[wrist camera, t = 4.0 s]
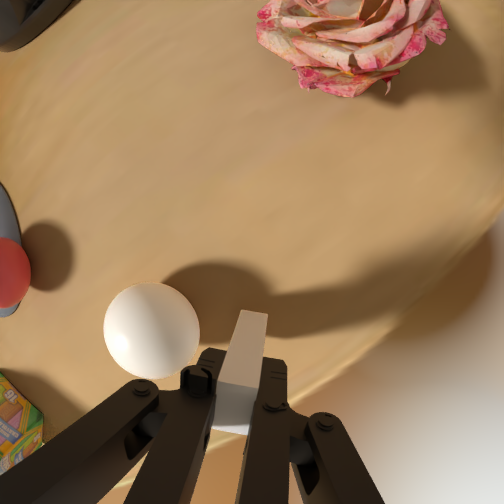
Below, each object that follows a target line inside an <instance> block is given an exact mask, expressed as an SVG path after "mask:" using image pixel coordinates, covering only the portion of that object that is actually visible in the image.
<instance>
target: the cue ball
mask: <svg viewBox="0 0 504 504" xmlns="http://www.w3.org/2000/svg"><path fill="white" fill-rule="evenodd" d="M104 338H105V342H106V345H107V347H108V350H109V352H110V354H111V355H112V357H113V358H114V360H115V361H116V362H117V363H118V364H119V365H120V366H121V367H122V368H123V369H125V370H126V371H128V372H129V373H131V374H133V375H136V376H138V377H142V378H146V379H162V378H166V377H169V376H172V375H174V374H176V373H178V372H179V371H181V370H182V369H183V368H184V367H186V366H187V365H188V363H189V362H190V361H191V360H192V358H193V356H194V355H195V352H196V350H197V347H198V344H199V338H200V328H199V322H198V318H197V315H196V312H195V311H194V309H193V307H192V305H191V304H190V302H189V301H188V300H187V299H186V298H185V297H184V296H183V295H182V294H181V293H180V292H179V291H177V290H175V289H174V288H172V287H170V286H168V285H165V284H162V283H157V282H142V283H138V284H134V285H132V286H129V287H127V288H126V289H124V290H123V291H121V292H120V293H119V294H118V295H117V296H116V297H115V298H114V300H113V301H112V302H111V304H110V305H109V307H108V310H107V312H106V315H105V320H104Z"/></svg>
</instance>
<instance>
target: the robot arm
mask: <svg viewBox="0 0 504 504" xmlns="http://www.w3.org/2000/svg"><path fill="white" fill-rule="evenodd" d="M71 2H72V0H0V51H2V52H11V51H14V50H16V49H18V48H20V47H22V46H23V45H25V44H26V43H28V42H29V41H31V40H32V39H33V38H34V37H36V36H37V35H38V34H39V33H40V32H42V31H43V30H44V29H45V28H46V27H47V26H48V25H49V24H50V23H51V22H52V21H53V20H54V19H55V18H56V17H57V16H58V15H59V14H60V13H61V12H62V11H63V10H64V9H65V8H66V7H67V6H68V5H69V4H70V3H71ZM267 319H268V314H265V313H259V312H254V311H248V310H242V309H241V312H240V315H239V318H238V321H237V324H236V327H235V330H234V333H233V336H232V338H231V341H230V344H229V347H228V350H227V351H224V350H219V349H215V348H210V347H209V348H207V349H206V350H204V351H203V352H202V353H201V355H200V357H199V360H198V362H197V364H196V365H191V366H187V367H185V368H183V369H182V370H181V376H180V389H178V390H171V391H166V390H159V389H158V387H157V385H156V384H155V383H153V382H152V381H149V380H146V379H135V380H132V381H130V382H128V383H127V384H125V385H124V386H123V387H121V388H120V389H119V390H117V391H116V392H115V393H113V394H112V395H111V396H110V397H108V398H107V399H106V400H104V401H103V402H102V403H100V404H99V405H98V406H96V407H95V408H94V409H92V410H91V411H90V412H88V413H87V414H86V415H84V416H83V417H81V418H80V419H79V420H77V421H76V422H75V423H73V424H72V425H71V426H69V427H68V428H67V429H65V430H64V431H62V432H61V433H60V434H58V435H57V436H56V437H54V438H53V439H51V440H50V441H49V442H47V443H46V444H44V445H43V446H42V447H40V448H39V449H37V450H36V451H35V452H33V453H32V454H30V455H29V456H27V457H26V458H25V459H23V460H22V461H20V462H19V463H17V464H16V465H15V466H13V467H12V468H10V469H9V470H7V471H6V472H4V473H3V474H1V475H0V504H97V503H98V502H99V500H101V499H102V498H103V497H104V496H105V495H106V494H107V493H108V492H109V491H110V490H111V489H112V488H113V487H114V486H115V485H116V484H117V483H118V482H119V481H120V480H121V479H122V478H123V477H124V476H125V475H126V474H127V473H128V472H129V471H130V470H131V469H132V468H133V467H134V466H135V465H136V464H137V463H138V462H139V461H140V459H141V458H142V457H143V456H144V455H145V454H146V453H147V452H148V451H149V452H148V454H147V456H146V458H145V460H144V462H143V464H142V466H141V468H140V470H139V472H138V474H137V476H136V478H135V480H134V482H133V485H132V487H131V489H130V491H129V493H128V495H127V497H126V499H125V501H124V503H123V504H190V501H191V498H192V495H193V492H194V488H195V485H196V482H197V478H198V475H199V472H200V468H201V465H202V462H203V459H204V455H205V452H206V449H207V445H208V442H209V439H210V430H211V427H212V429H217V430H222V431H227V432H232V433H237V434H243V435H247V440H246V444H245V448H244V453H243V455H244V456H243V461H242V467H241V473H240V479H239V484H238V489H237V494H236V501H235V504H288V495H289V462H291V465H292V468H293V471H294V475H295V478H296V481H297V484H298V488H299V491H300V494H301V497H302V500H303V503H304V504H385V503H384V501H383V499H382V497H381V495H380V493H379V491H378V490H377V488H376V486H375V484H374V482H373V480H372V478H371V476H370V475H369V473H368V471H367V469H366V467H365V465H364V463H363V461H362V460H361V458H360V456H359V454H358V452H357V450H356V448H355V447H354V444H353V443H352V441H351V439H350V437H349V435H348V433H347V431H346V429H345V428H344V426H343V424H342V422H341V421H340V419H339V418H338V417H336V416H335V415H333V414H330V413H326V412H325V413H324V412H319V413H315V414H313V415H311V416H310V418H309V417H306V416H303V415H301V414H298V413H296V412H295V411H293V410H292V409H291V408H290V406H289V404H288V402H287V366H286V364H285V362H284V361H283V360H280V359H274V358H267V357H263V351H264V343H265V335H266V327H267Z"/></svg>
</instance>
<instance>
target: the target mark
mask: <svg viewBox="0 0 504 504" xmlns="http://www.w3.org/2000/svg"><path fill="white" fill-rule="evenodd" d="M0 237H5V238H9V239H11V240H14V241H15V242H16V243H18V244H19V245H20V246H21V247H22V244H21V238H20V232H19V228H18V224H17V220H16V217H15V213H14V210H13V207H12V205H11V202H10V200H9V198H8V195H7V194H6V192H5V190H4V188H3V187H2V186H1V185H0ZM18 304H19V303H17V304H16V305H14V306H12V307H9V308H0V317H6V316H9V315H10V314H12V313H13V312H14V311H15V310H16V308H17V306H18Z"/></svg>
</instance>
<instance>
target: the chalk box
mask: <svg viewBox="0 0 504 504" xmlns="http://www.w3.org/2000/svg"><path fill="white" fill-rule="evenodd" d="M42 434H43V414H42V413H41V412H39V411H38V410H37V409H36V408H35V407H34V406H33V405H32V404H31V403H30V402H29V401H28V400H27V399H25V398H24V397H23V396H22V395H21V394H20V393H19V392H18V391H17V390H16V389H15V388H14V386H13V385H12V384H11V383H10V382H9V381H8V380H7V379H6V378H5V377H4V376H3V375H2V374H1V372H0V475H1V474H3V473H4V472H6V471H7V470H9V469H10V468H12V467H13V466H15V465H16V464H17V463H19V462H20V461H22V460H23V459H25V458H26V457H27V456H29V455H30V454H32V453H33V452H35V451H36V450H37V449H39V448H40V447H41V445H42Z"/></svg>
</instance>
